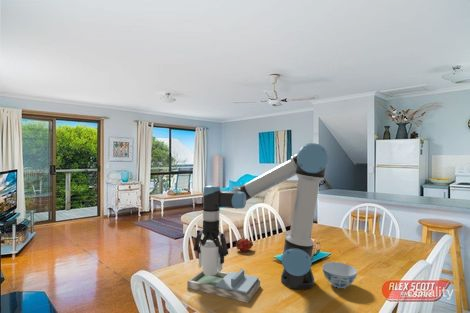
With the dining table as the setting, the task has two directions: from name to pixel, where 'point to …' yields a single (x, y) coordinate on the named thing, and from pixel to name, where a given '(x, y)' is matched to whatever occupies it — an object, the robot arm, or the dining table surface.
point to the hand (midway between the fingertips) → (210, 268)
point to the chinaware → (339, 274)
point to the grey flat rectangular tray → (209, 286)
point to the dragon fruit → (244, 244)
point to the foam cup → (209, 258)
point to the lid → (237, 282)
